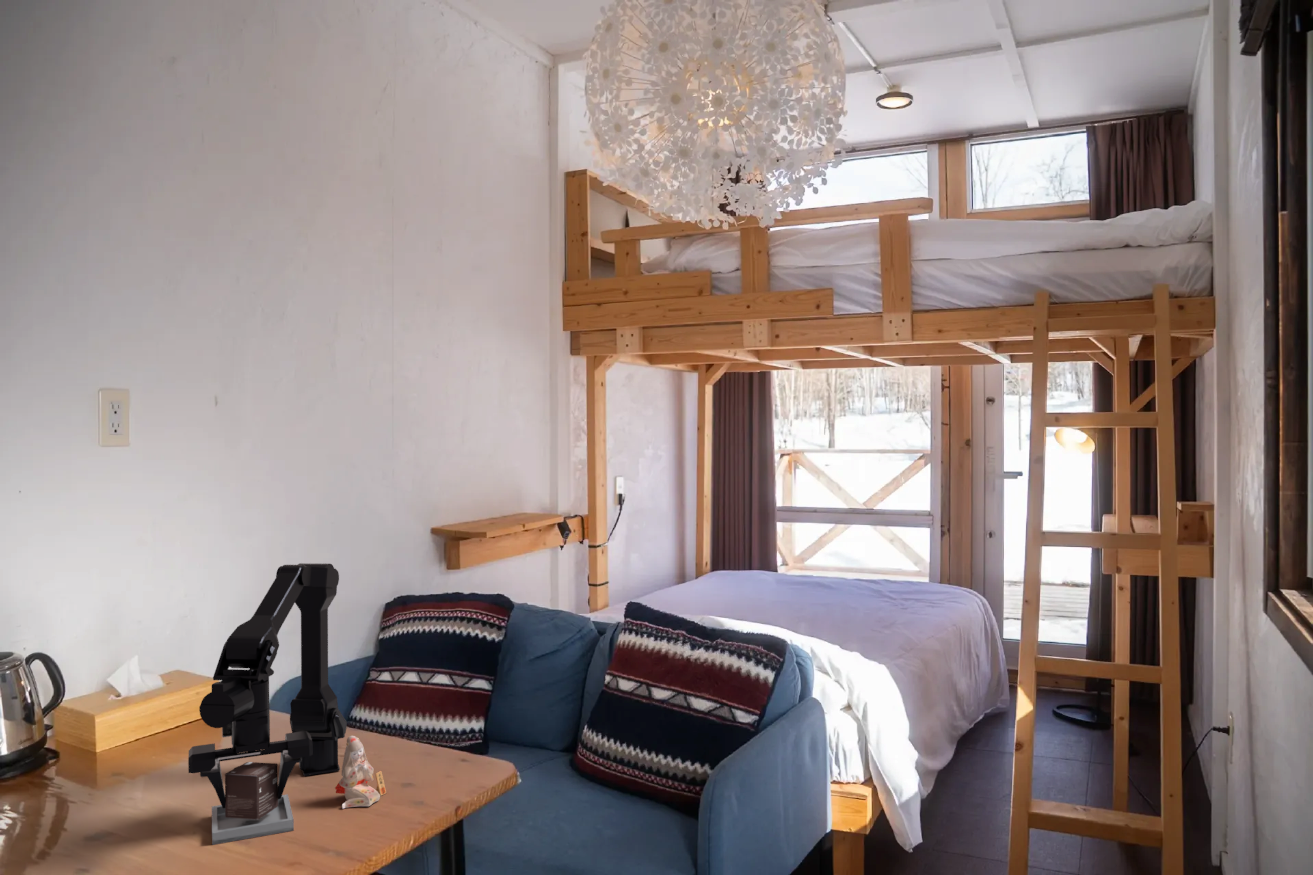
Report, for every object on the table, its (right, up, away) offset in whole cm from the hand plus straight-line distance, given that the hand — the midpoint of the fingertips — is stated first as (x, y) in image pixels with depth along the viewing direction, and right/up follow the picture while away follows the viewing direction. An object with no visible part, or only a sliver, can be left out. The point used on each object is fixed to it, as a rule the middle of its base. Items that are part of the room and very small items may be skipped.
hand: (252, 802), depth 158 cm
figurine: (+15, -4, +9) cm, 18 cm away
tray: (0, -3, 0) cm, 3 cm away
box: (0, -2, 0) cm, 2 cm away
